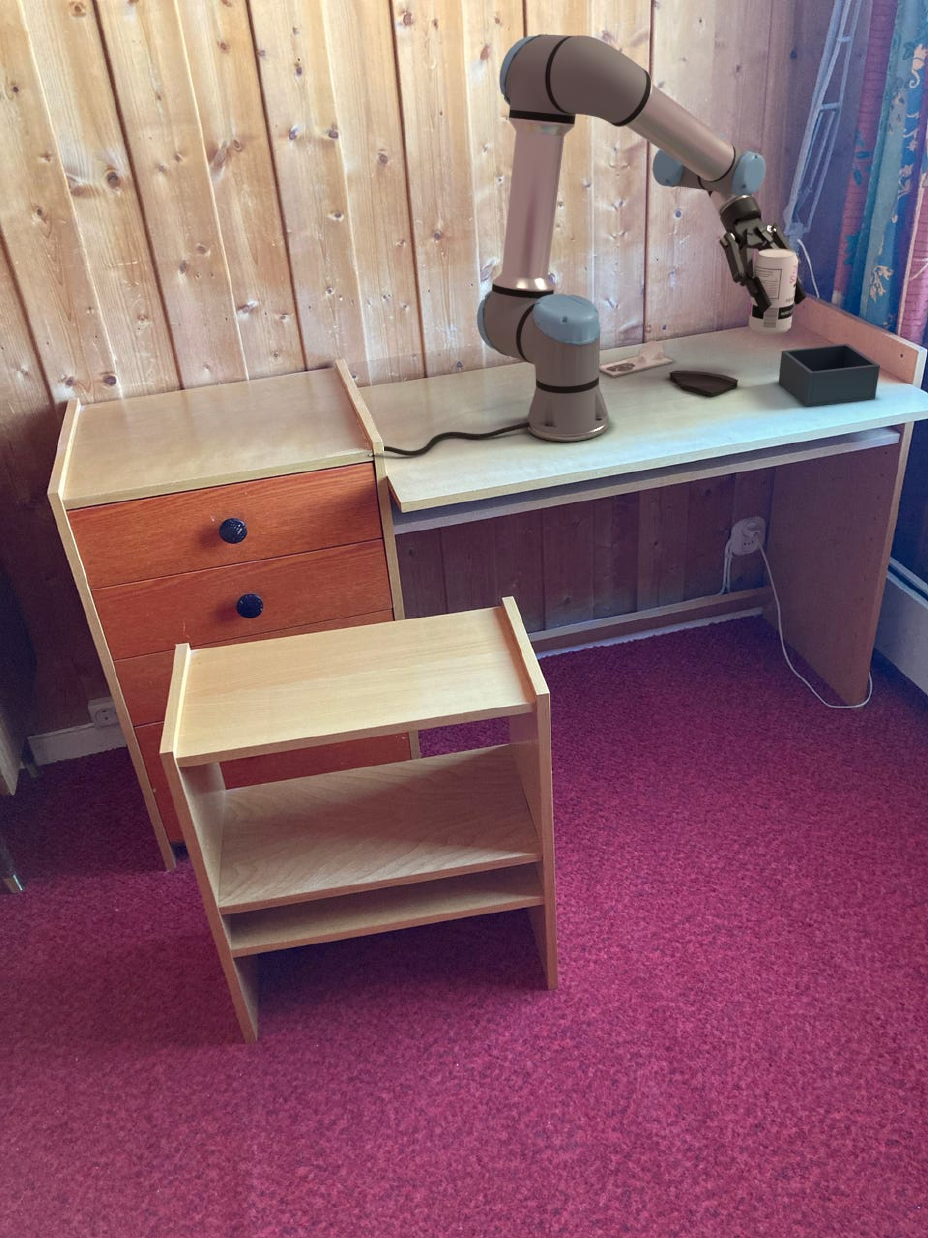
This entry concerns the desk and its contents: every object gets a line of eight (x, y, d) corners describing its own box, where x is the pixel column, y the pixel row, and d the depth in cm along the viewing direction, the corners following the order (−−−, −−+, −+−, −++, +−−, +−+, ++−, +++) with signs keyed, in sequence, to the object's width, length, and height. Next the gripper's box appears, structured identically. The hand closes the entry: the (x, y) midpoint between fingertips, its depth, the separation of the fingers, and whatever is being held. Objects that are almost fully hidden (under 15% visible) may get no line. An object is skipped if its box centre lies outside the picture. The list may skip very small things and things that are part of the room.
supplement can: (742, 325, 214) (749, 249, 206) (781, 321, 215) (789, 246, 207) (756, 336, 207) (763, 259, 200) (796, 333, 208) (805, 255, 200)
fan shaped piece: (689, 371, 218) (690, 364, 217) (739, 387, 208) (740, 379, 207) (661, 381, 214) (661, 373, 213) (710, 398, 204) (711, 390, 203)
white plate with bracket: (653, 354, 228) (654, 333, 226) (672, 362, 223) (673, 341, 221) (596, 368, 223) (596, 347, 220) (613, 377, 218) (613, 355, 215)
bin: (806, 406, 197) (810, 373, 194) (778, 383, 209) (781, 350, 205) (875, 399, 198) (880, 365, 195) (843, 375, 210) (847, 343, 206)
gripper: (766, 210, 217) (813, 305, 213) (685, 226, 209) (732, 325, 205) (787, 187, 210) (835, 284, 206) (704, 202, 202) (752, 303, 198)
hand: (783, 304), depth 206 cm, fingers closed on supplement can, 8 cm apart
